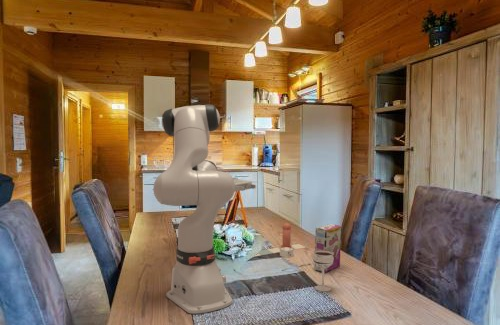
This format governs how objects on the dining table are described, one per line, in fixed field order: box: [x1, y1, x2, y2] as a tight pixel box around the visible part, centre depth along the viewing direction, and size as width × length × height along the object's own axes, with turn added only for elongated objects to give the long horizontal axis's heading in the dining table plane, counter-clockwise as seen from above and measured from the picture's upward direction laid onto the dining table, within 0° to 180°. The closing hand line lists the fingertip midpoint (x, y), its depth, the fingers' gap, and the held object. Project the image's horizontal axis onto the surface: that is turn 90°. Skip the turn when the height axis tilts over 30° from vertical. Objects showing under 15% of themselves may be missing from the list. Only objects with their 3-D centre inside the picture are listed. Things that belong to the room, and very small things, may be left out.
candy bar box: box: [313, 223, 342, 274], centre depth 129 cm, size 11×5×16 cm, turn 135°
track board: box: [252, 243, 309, 258], centre depth 149 cm, size 10×30×1 cm, turn 119°
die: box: [279, 247, 294, 259], centre depth 141 cm, size 4×4×4 cm
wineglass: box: [312, 249, 334, 292], centre depth 111 cm, size 7×7×12 cm
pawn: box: [280, 222, 292, 249], centre depth 151 cm, size 5×5×12 cm
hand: (249, 187), depth 155 cm, fingers open, 8 cm apart
